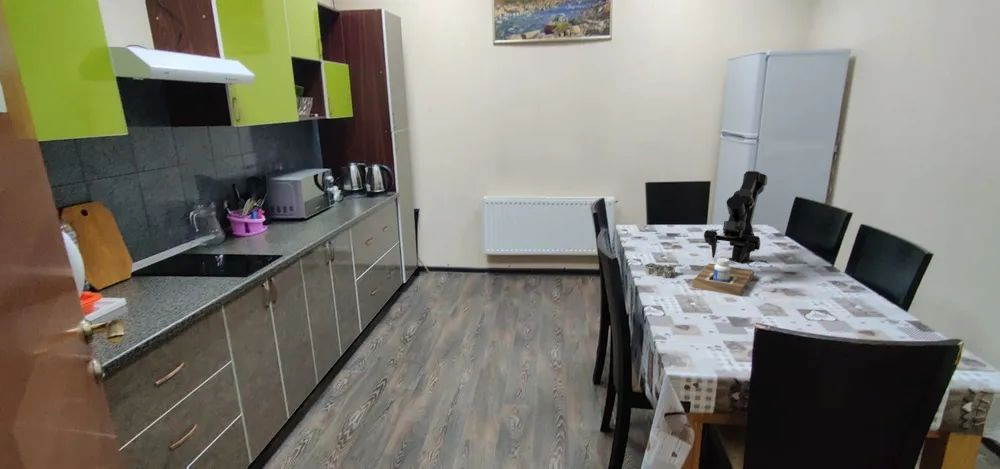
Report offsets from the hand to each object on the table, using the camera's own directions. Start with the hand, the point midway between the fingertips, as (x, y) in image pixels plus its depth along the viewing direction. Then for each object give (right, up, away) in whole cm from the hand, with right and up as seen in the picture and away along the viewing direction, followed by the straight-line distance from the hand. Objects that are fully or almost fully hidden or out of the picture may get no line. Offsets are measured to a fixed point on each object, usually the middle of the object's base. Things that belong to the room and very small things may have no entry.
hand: (726, 259), depth 181 cm
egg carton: (-21, -6, +12) cm, 25 cm away
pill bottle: (-3, -9, -2) cm, 10 cm away
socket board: (-1, -8, +1) cm, 8 cm away
